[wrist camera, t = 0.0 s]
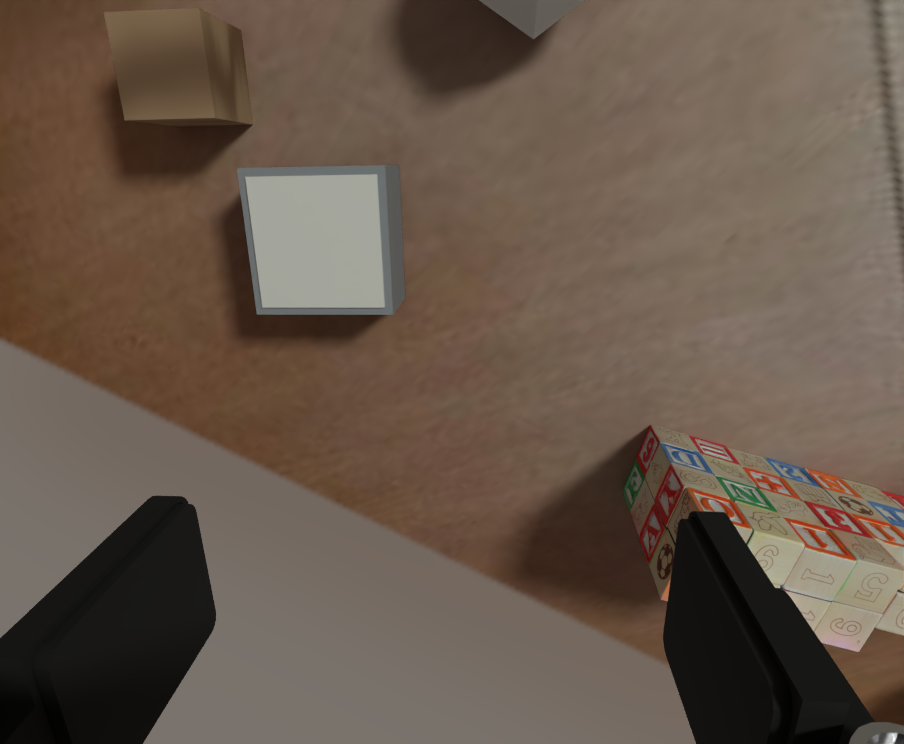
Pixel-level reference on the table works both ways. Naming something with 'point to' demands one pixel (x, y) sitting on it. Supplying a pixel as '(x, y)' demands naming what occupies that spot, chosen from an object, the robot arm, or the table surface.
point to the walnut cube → (179, 68)
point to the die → (532, 13)
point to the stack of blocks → (779, 529)
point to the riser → (324, 239)
